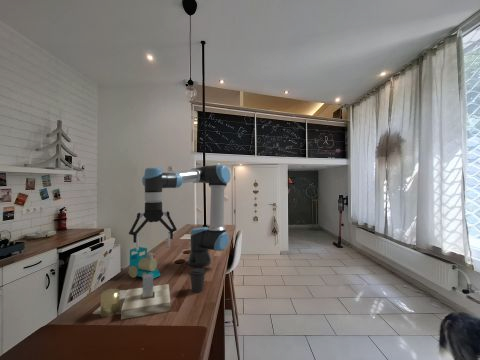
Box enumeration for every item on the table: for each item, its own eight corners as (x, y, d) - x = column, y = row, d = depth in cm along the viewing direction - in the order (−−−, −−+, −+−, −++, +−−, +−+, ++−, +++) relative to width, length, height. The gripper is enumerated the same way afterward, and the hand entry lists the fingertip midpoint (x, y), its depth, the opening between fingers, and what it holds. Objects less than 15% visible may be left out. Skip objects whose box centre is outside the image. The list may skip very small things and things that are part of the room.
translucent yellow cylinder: (120, 306, 94) (120, 287, 94) (117, 315, 88) (118, 294, 88) (102, 309, 92) (102, 290, 92) (98, 318, 86) (99, 297, 86)
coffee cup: (208, 287, 112) (208, 267, 112) (200, 295, 104) (200, 273, 104) (194, 285, 114) (194, 265, 115) (185, 292, 107) (185, 271, 107)
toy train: (151, 281, 120) (151, 253, 120) (128, 276, 126) (128, 250, 126) (161, 275, 127) (161, 249, 127) (139, 271, 133) (139, 246, 133)
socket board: (168, 291, 108) (168, 283, 108) (170, 310, 91) (170, 302, 91) (127, 297, 102) (127, 289, 102) (121, 319, 85) (121, 310, 85)
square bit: (152, 300, 99) (153, 273, 100) (152, 305, 95) (152, 276, 96) (143, 302, 98) (143, 274, 98) (142, 306, 94) (142, 278, 94)
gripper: (180, 200, 110) (180, 243, 110) (124, 201, 101) (124, 248, 101) (182, 201, 103) (182, 247, 103) (121, 203, 94) (122, 253, 94)
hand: (153, 248), depth 102 cm, fingers open, 13 cm apart
